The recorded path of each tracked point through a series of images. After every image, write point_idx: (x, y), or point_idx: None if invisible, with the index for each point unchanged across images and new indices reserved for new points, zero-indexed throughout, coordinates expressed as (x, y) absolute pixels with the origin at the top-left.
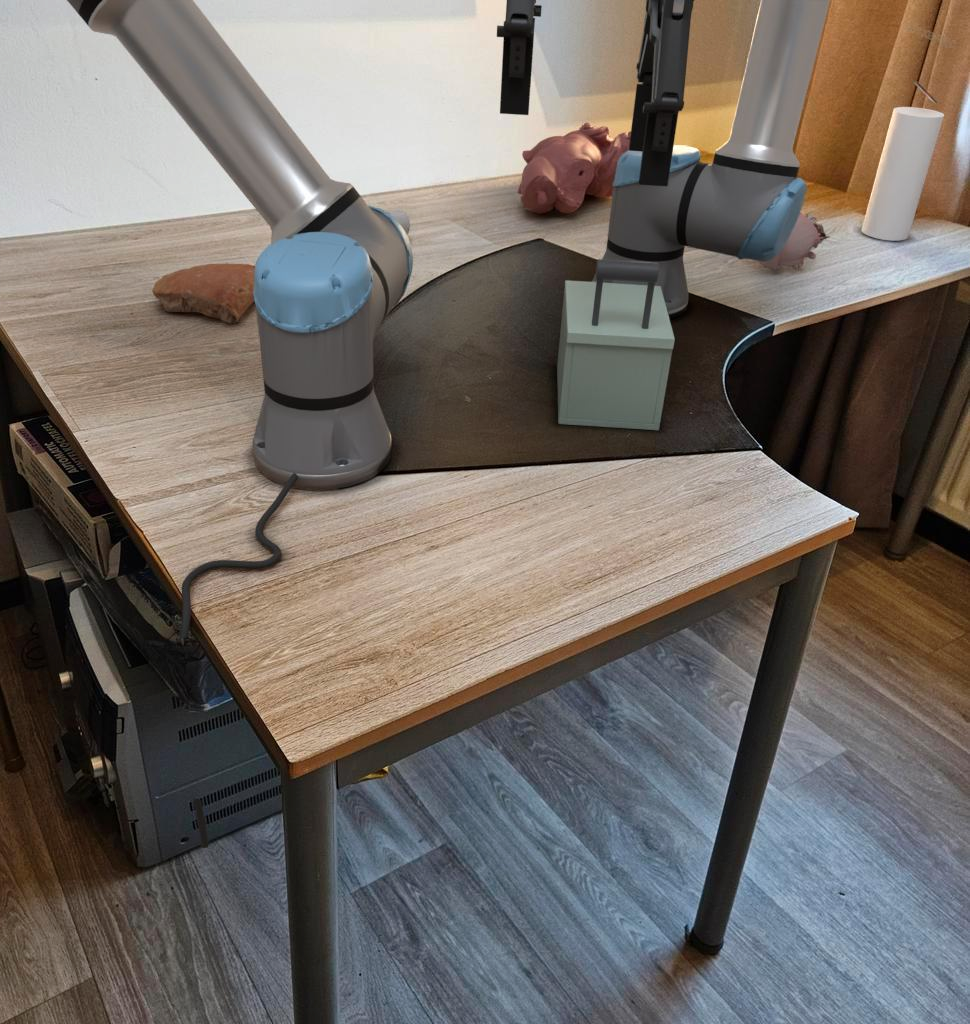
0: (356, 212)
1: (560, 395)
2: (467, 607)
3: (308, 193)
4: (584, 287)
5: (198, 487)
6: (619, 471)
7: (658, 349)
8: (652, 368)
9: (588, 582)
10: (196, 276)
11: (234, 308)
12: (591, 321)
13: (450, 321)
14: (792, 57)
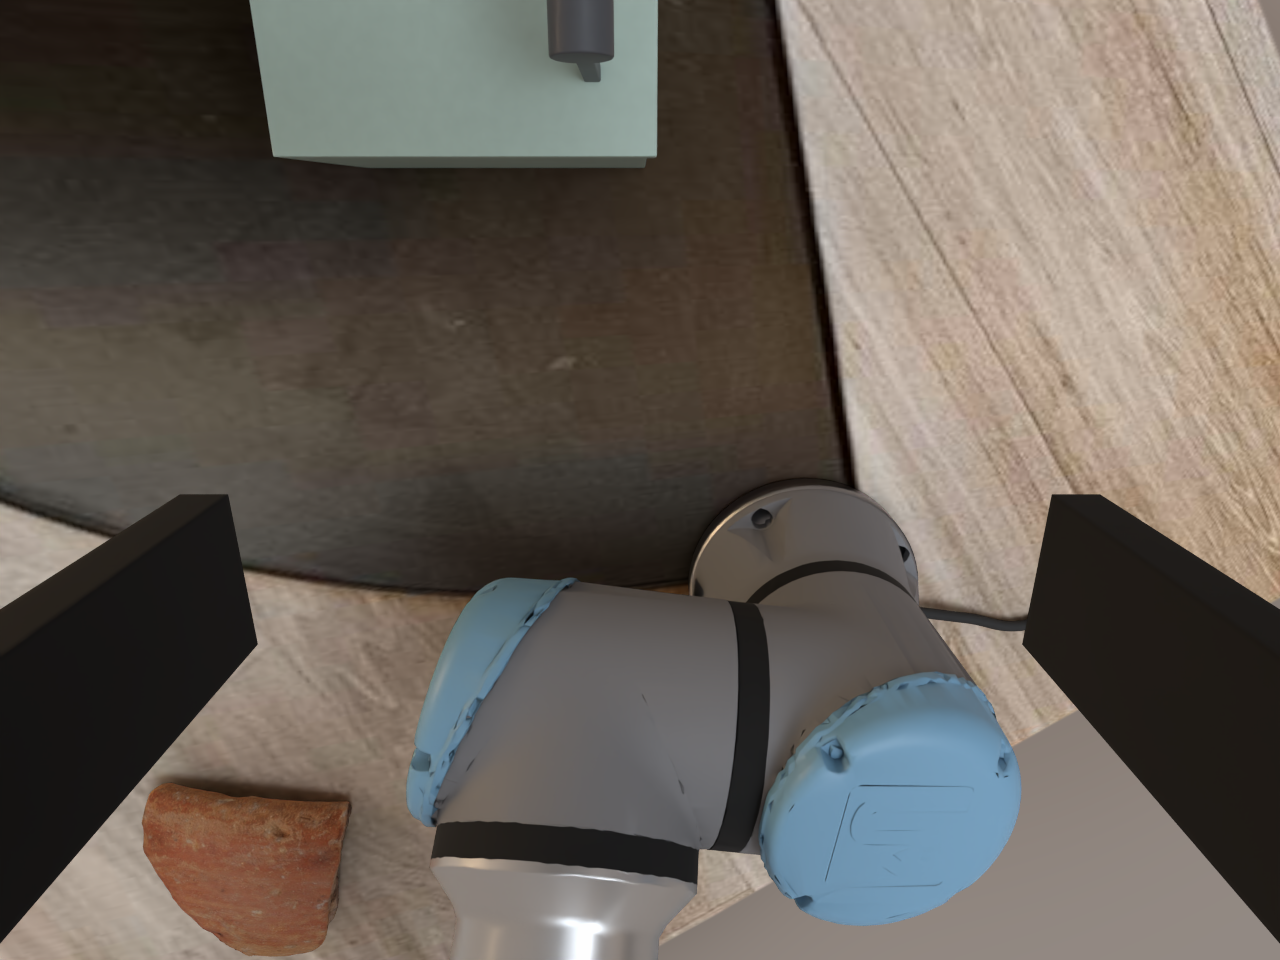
0: (619, 806)
1: (619, 165)
2: (1221, 318)
3: (635, 944)
4: (314, 94)
5: None
6: (828, 33)
7: None
8: None
9: (1186, 119)
10: (263, 914)
11: (338, 821)
12: (572, 82)
13: (192, 427)
14: None
